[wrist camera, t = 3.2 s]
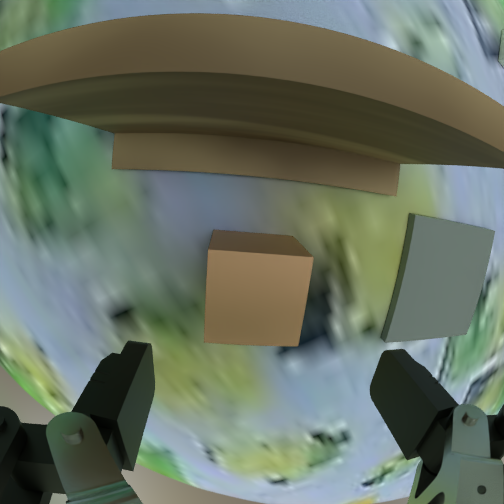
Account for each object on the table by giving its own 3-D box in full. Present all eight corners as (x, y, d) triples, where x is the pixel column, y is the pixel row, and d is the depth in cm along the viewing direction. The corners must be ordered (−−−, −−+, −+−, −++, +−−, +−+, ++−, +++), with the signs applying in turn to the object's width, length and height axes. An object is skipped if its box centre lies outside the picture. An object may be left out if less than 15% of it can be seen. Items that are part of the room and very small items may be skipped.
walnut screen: (128, 79, 15) (22, -6, 4) (395, 112, 17) (533, 81, 5) (117, 169, 17) (-21, 175, 5) (389, 195, 19) (531, 230, 7)
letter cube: (213, 229, 18) (208, 249, 14) (292, 235, 19) (313, 257, 14) (209, 305, 20) (204, 345, 15) (282, 309, 20) (297, 349, 15)
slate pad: (409, 213, 19) (415, 214, 18) (489, 229, 20) (494, 231, 19) (380, 337, 21) (385, 342, 21) (461, 330, 22) (466, 334, 22)
